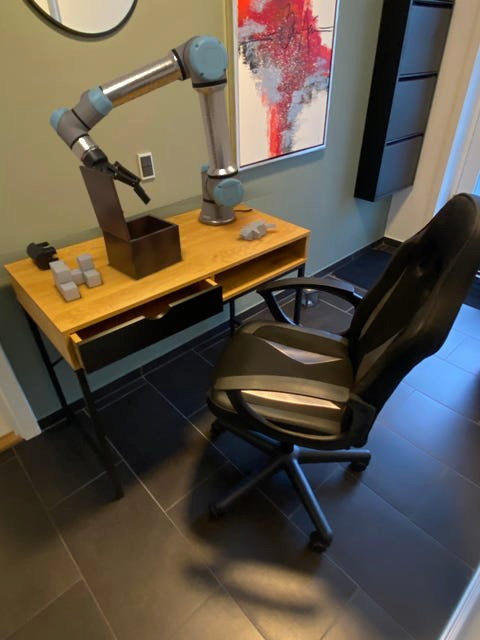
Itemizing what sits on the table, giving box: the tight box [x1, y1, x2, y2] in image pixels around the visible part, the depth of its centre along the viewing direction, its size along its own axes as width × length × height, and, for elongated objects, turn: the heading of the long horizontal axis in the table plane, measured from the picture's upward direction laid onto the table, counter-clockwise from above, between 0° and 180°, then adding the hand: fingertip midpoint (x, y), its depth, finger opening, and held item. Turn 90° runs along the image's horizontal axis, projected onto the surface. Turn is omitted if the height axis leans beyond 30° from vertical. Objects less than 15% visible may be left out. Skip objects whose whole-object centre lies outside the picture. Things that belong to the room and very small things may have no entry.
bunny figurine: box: [238, 218, 277, 242], centre depth 155 cm, size 10×5×15 cm
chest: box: [101, 213, 183, 281], centre depth 134 cm, size 19×16×13 cm
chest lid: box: [78, 164, 131, 241], centre depth 118 cm, size 20×16×1 cm
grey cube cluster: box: [49, 252, 103, 302], centre depth 121 cm, size 12×12×8 cm
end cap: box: [25, 241, 60, 270], centre depth 135 cm, size 10×7×7 cm
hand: (135, 208), depth 130 cm, fingers open, 13 cm apart
